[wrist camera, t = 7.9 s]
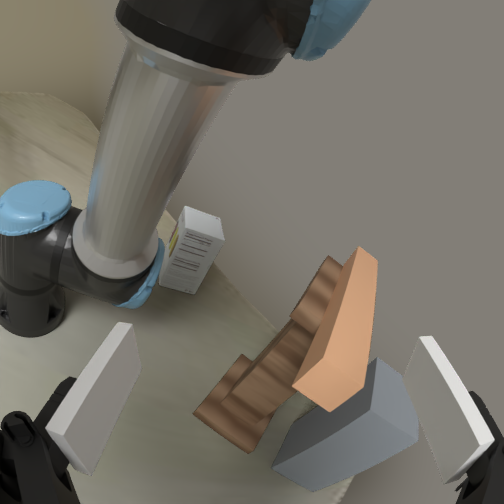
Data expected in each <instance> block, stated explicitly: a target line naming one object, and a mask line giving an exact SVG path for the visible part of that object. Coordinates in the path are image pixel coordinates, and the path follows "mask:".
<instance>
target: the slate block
mask: <svg viewBox="0 0 504 504" xmlns="http://www.w3.org/2000/svg"><path fill="white" fill-rule="evenodd" d="M402 378H403V376H402V375H401V374H399V373H398V372H397V371H395V370H394V369H393V368H391V367H390V366H389V365H387V364H386V363H385V362H383V361H382V360H381V359H379V358H378V357H376V358H375V359H374V360H373V361H372V362H371V363H370V364H369V365H367V370H366V377H365V383H364V387H363V388H362V389H361V390H359V391H358V392H357V393H355V394H354V395H353V396H352V397H350V398H349V399H348V400H346V401H345V402H344V403H342V404H341V405H339V406H338V407H337V408H335V409H334V410H333V411H331V412H328V411H327V410H325V409H324V408H322V407H321V406H320V405H318V406H317V407H315V408H314V409H313V410H311V411H310V412H308V413H307V414H306V415H304V416H303V417H301V418H300V419H299V420H297V421H296V422H294V423H293V424H292V425H291V427H290V430H289V432H288V434H287V436H286V438H285V440H284V442H283V444H282V446H281V449H280V451H279V453H278V455H277V457H276V459H275V461H274V463H273V465H272V467H271V469H273V470H274V471H276V472H278V473H279V474H281V475H283V476H285V477H286V478H288V479H290V480H292V481H294V482H295V483H297V484H299V485H301V486H303V487H305V488H306V489H308V490H310V491H312V492H314V491H317V490H319V489H322V488H325V487H327V486H330V485H332V484H335V483H337V482H339V481H342V480H344V479H346V478H349V477H351V476H353V475H355V474H357V473H360V472H362V471H364V470H366V469H368V468H370V467H372V466H374V465H376V464H378V463H380V462H382V461H384V460H385V459H387V458H389V457H391V456H393V455H395V454H396V453H398V452H400V451H402V450H404V449H405V448H407V447H409V446H410V445H412V444H414V443H415V442H417V441H418V421H419V418H418V416H417V413H416V411H415V409H414V406H413V404H412V401H411V399H410V397H409V395H408V392H407V390H406V388H405V385H404V383H403V381H402Z"/></svg>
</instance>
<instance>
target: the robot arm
mask: <svg viewBox="0 0 504 504" xmlns="http://www.w3.org/2000/svg"><path fill="white" fill-rule="evenodd" d="M370 1H371V0H120V1H119V3H118V6H117V8H116V11H115V15H114V21H115V23H116V25H117V27H118V28H119V30H120V31H121V32H122V34H123V35H124V37H125V38H126V40H127V43H126V46H125V48H124V51H123V54H122V57H121V60H120V63H119V66H118V69H117V72H116V75H115V78H114V81H113V85H112V88H111V92H110V95H109V99H108V102H107V106H106V110H105V114H104V118H103V122H102V126H101V130H100V135H99V139H98V144H97V148H96V153H95V159H94V164H93V169H92V175H91V181H90V188H89V194H88V202H87V207H86V208H85V209H84V210H81V209H78V208H75V207H73V206H71V203H72V201H71V196H70V193H69V192H68V191H67V190H66V188H65V187H63V186H62V185H60V184H57V183H55V182H51V181H44V180H33V181H27V182H22V183H19V184H17V185H14V186H13V187H11V188H9V189H8V190H7V191H6V192H5V193H4V194H3V195H2V196H1V198H0V324H1V325H2V326H3V327H4V328H5V329H6V330H8V331H9V332H11V333H13V334H15V335H18V336H23V337H38V336H42V335H45V334H47V333H49V332H50V331H52V330H53V329H54V328H56V327H57V325H58V324H59V323H60V321H61V319H62V317H63V314H64V307H65V296H64V291H63V288H62V287H65V288H68V289H71V290H73V291H76V292H79V293H82V294H85V295H87V296H90V297H93V298H96V299H99V300H102V301H105V302H108V303H111V304H112V305H114V306H116V307H125V308H129V309H136V308H139V307H140V306H142V305H143V304H144V303H145V301H146V300H147V299H148V297H149V296H150V294H151V291H152V287H153V286H154V285H155V283H156V281H157V278H158V276H159V273H160V270H161V267H162V263H163V258H164V252H165V246H164V243H163V241H162V239H160V238H159V237H158V233H157V229H156V226H157V224H158V222H159V220H160V218H161V216H162V214H163V212H164V210H165V208H166V206H167V204H168V202H169V200H170V198H171V196H172V194H173V192H174V190H175V188H176V187H177V185H178V183H179V181H180V179H181V177H182V175H183V173H184V172H185V170H186V168H187V166H188V164H189V163H190V161H191V159H192V157H193V155H194V154H195V152H196V150H197V148H198V147H199V145H200V143H201V141H202V140H203V138H204V136H205V134H206V133H207V131H208V129H209V128H210V126H211V124H212V123H213V121H214V119H215V118H216V116H217V114H218V113H219V111H220V110H221V108H222V106H223V105H224V103H225V102H226V100H227V98H228V97H229V95H230V94H231V92H232V91H233V89H234V88H235V86H236V84H237V83H238V82H239V81H243V80H250V79H259V78H264V77H266V76H268V75H270V74H271V73H272V71H273V70H274V69H275V67H276V66H277V65H278V63H279V62H280V61H281V59H282V58H283V57H284V56H285V55H286V54H287V53H291V55H292V57H293V58H295V59H303V60H306V61H313V60H316V59H318V58H320V57H322V56H323V55H324V54H325V53H326V51H327V50H328V49H332V48H334V47H335V46H336V45H337V44H338V43H339V42H340V41H341V39H343V38H344V36H345V35H346V34H347V33H348V32H349V31H350V29H351V28H352V27H353V26H354V24H355V23H356V22H357V20H358V19H359V18H360V16H361V15H362V13H363V12H364V10H365V9H366V8H367V6H368V4H369V3H370ZM141 370H142V366H141V362H140V357H139V353H138V348H137V343H136V338H135V334H134V328H133V324H129V323H123V322H117V324H116V325H115V327H114V328H113V329H112V331H111V332H110V333H109V335H108V336H107V337H106V339H105V340H104V342H103V343H102V344H101V346H100V347H99V349H98V350H97V351H96V353H95V354H94V356H93V357H92V358H91V360H90V361H89V363H88V364H87V366H86V367H85V368H84V370H83V371H82V373H81V374H80V376H79V377H78V379H77V378H73V377H68V378H67V379H65V380H64V381H63V382H61V383H60V384H59V386H58V387H57V388H56V390H55V391H54V394H52V395H51V397H50V398H49V401H47V403H46V404H45V406H44V407H43V409H42V410H41V411H40V413H39V414H38V416H37V417H36V419H35V420H34V422H32V420H31V418H30V417H29V416H28V415H27V414H26V413H24V412H21V411H14V412H11V413H9V414H7V415H6V416H5V417H4V418H3V420H2V422H1V429H2V430H0V504H80V502H79V499H78V496H77V494H76V491H75V489H74V486H73V483H72V480H71V477H70V474H69V472H68V470H67V466H68V464H69V463H70V464H71V465H72V466H73V468H74V469H75V470H77V471H80V472H82V473H85V474H87V475H90V476H92V475H93V472H94V470H95V468H96V465H97V463H98V461H99V459H100V456H101V454H102V452H103V450H104V448H105V445H106V443H107V441H108V439H109V437H110V435H111V432H112V430H113V428H114V426H115V424H116V422H117V420H118V417H119V415H120V413H121V411H122V409H123V407H124V405H125V403H126V401H127V399H128V397H129V395H130V393H131V390H132V388H133V386H134V384H135V382H136V380H137V378H138V376H139V374H140V372H141ZM402 381H403V383H404V385H405V388H406V390H407V392H408V395H409V397H410V399H411V401H412V404H413V406H414V409H415V411H416V413H417V416H418V418H419V420H420V423H421V425H422V428H423V430H424V433H425V435H426V438H427V440H428V443H429V446H430V448H431V451H432V454H433V456H434V459H435V462H436V464H437V467H438V470H439V473H440V476H441V479H442V481H443V484H447V483H450V482H453V481H456V480H458V479H460V478H461V477H462V476H463V474H465V473H467V476H468V478H466V479H465V481H463V482H462V483H461V484H460V485H459V486H458V487H457V488H456V490H455V491H458V490H459V489H460V488H461V487H462V489H461V492H460V495H459V497H458V499H457V502H456V504H504V437H503V436H502V434H501V432H500V430H499V429H498V427H497V425H496V423H495V421H494V420H493V418H492V416H491V415H490V414H489V411H488V409H487V408H486V406H485V404H484V403H483V401H482V399H481V398H480V397H479V396H478V395H477V394H476V393H475V392H473V391H470V392H468V391H467V390H466V388H465V386H464V385H463V383H462V382H461V380H460V378H459V377H458V375H457V373H456V372H455V370H454V369H453V367H452V365H451V364H450V362H449V361H448V359H447V358H446V356H445V355H444V353H443V352H442V351H441V349H440V347H439V346H438V344H437V343H436V342H435V340H434V338H433V337H432V336H424V337H423V336H422V337H419V338H418V341H417V344H416V346H415V349H414V351H413V354H412V357H411V359H410V361H409V364H408V366H407V369H406V371H405V373H404V376H403V378H402Z"/></svg>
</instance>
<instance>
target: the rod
mask: <svg viewBox="0 0 504 504" xmlns="http://www.w3.org/2000/svg"><path fill="white" fill-rule="evenodd" d="M377 265H378V261H377V260H376V259H375V258H373V257H372V256H371V255H370V254H368V253H367V252H366V251H364V250H363V249H362V248H361V247H359V246H358V248H357V249H356V250H355V251H354V252H353V254H352V255H351V256H350V258H349V259H348V260H347V261H346V263H345V264H344V266H343V268H342V271H341V274H340V276H339V279H338V281H337V284H336V287H335V289H334V292H333V294H332V297H331V299H330V301H329V304H328V306H327V309H326V311H325V314H324V316H323V318H322V321H321V323H320V325H319V328H318V330H317V332H316V335H315V337H314V339H313V341H312V344H311V346H310V348H309V350H308V353H307V355H306V357H305V359H304V361H303V363H302V366H301V368H300V370H299V372H298V374H297V376H296V378H295V380H294V382H293V384H292V387H294V388H295V389H296V390H298V391H299V392H301V393H302V394H304V395H305V396H306V397H308V398H309V399H311V400H312V401H314V402H315V403H317V404H318V405H320V406H321V407H322V408H324V409H325V410H327V411H328V412H331V411H333V410H334V409H335V408H337V407H338V406H339V405H341V404H342V403H344V402H345V401H346V400H348V399H349V398H350V397H352V396H353V395H354V394H355V393H357V392H358V391H359V390H361V389H362V388H363V387H364V383H365V377H366V370H367V363H368V357H369V350H370V343H371V335H372V326H373V317H374V307H375V296H376V283H377V282H376V281H377Z"/></svg>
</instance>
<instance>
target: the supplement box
mask: <svg viewBox="0 0 504 504" xmlns="http://www.w3.org/2000/svg"><path fill="white" fill-rule="evenodd" d="M224 242H225V238H224V234H223V230H222V225H221V219H220V218H218V217H215V216H213V215H210V214H207V213H204V212H201V211H199V210H196V209H193V208H190V207H187V206H185V207H184V209H183V211H182V213H181V215H180V217H179V219H178V221H177V224H176V226H175V228H174V230H173V232H172V235H171V237H170V239H169V241H168V243H167V246H166V248H165V252H164V258H163V263H162V267H161V270H160V273H159V285H160V286H163V287H167V288H171V289H174V290H178V291H182V292H186V293H190V294H193V295H195V293H196V291H197V290H198V288H199V286H200V284H201V282H202V281H203V279H204V277H205V275H206V274H207V272H208V270H209V268H210V266H211V265H212V263H213V261H214V260H215V258H216V256H217V255H218V253H219V251H220V249H221V248H222V246H223V244H224Z"/></svg>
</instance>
